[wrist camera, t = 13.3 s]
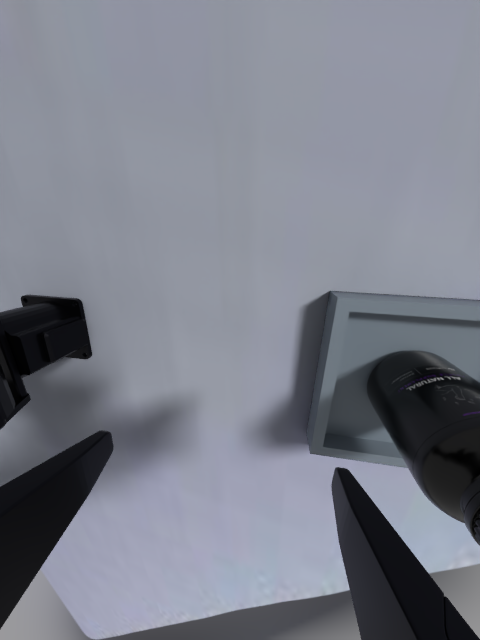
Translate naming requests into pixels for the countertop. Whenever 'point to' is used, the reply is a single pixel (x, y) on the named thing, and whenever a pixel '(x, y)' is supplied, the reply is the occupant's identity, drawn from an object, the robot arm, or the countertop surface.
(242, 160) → the countertop surface
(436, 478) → the supplement bottle
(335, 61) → the countertop surface
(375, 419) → the tray
